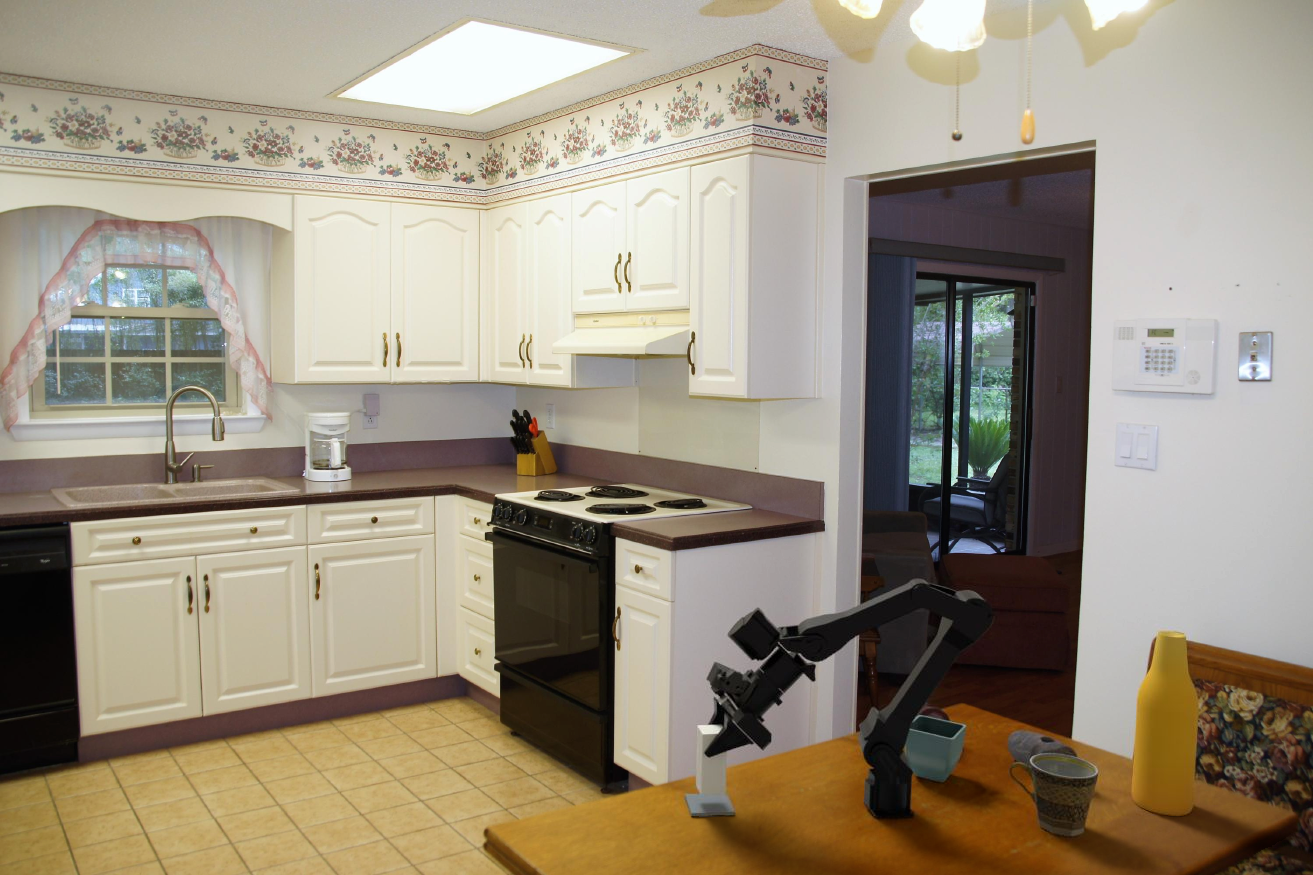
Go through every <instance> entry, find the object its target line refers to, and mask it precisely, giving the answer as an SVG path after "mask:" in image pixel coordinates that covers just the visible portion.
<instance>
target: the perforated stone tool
mask: <svg viewBox="0 0 1313 875" xmlns="http://www.w3.org/2000/svg"><path fill="white" fill-rule="evenodd" d="M1007 747H1008V748H1007V749H1008V751H1009V753H1010V755H1011V756H1012V758H1013V759H1014V760H1015V761H1016V762H1021V763H1024V764H1026V765H1027V766H1031V765H1030V758H1031V757H1033V756H1035V755H1038V754H1044V753H1055V754H1063V755H1069V756H1073V757H1077V758H1078V754H1077V752H1076V751H1075V750H1074V748H1072V747H1071V746H1069V745H1068V744H1066V743H1063V742H1062V741H1060V740H1058V739H1055V738H1054V737H1050V736H1049V735H1044V734H1042V733H1038V732H1035V731H1029V730H1016V731H1013V732H1012V733H1011V734H1010V735H1009V737H1008V739H1007Z"/></svg>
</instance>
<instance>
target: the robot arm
mask: <svg viewBox="0 0 1313 875" xmlns="http://www.w3.org/2000/svg"><path fill="white" fill-rule="evenodd" d="M919 609H924V610H927V611H929V612H932V613H934V614H936V615H939V616H941V620H940V623H939V628H938V629H937V630H938V631H937V634H936V635H935V638H934V639H933V640H932V642H931V643H930V644H929V646H928V647H927V649H926V650H925V651H924V654H923V655H922V656H921V658H920V659H919V661H918V662H917V664H916V665H915V667H914V668H913V669H912V671H911V673H910V674H909V676H907V678H906V680H905V681H904V683H903V684H902V685H901V687H900V688H899V690H898V692H897V693H896V694H895V696H894V697H893V699H892V700H891V702H890V703H889V704H888V705H887V706H886V707H884V708H883V709H881V710H878V709H877V708H876V707H875V706H872V707H871V708H870V710H869V713H867V716H866V718H865V719H864V720H863V721H862V722H860V723H859V725H858V726H859V730H860V731H859V733H858V742H859V747H860V749H861V752H862V755H863V759H864V760H865V762H866V763H867V764H868V766H869V767H871V768H868V772H867V775H868V777H866V778H865V780H864V797H863V804H865V806H866V807H867V809H868V810H869V811H870V812H871V814H872V815H873V816H874V817H875V818H876V819H890V818H893V819H894V818H896V819H897V818H914V817H915V813H914V811H913V810H912V809H911V808H912V784H913V783H912V782H913V774H914V773H913V771H912V768H911V766H910V764H909V761H908V759H907V757H906V751H905V750H904V748H905V744H906V741H907V737H908V734H909V730H910V726H911V724H912V722H913V721H914V719H915V718H916V716H917V715H918V713H919V712H920V711H921V709H922V708H923V706H924V705H925V703H926V702H927V703H928V701H929V699H930V697H931V696H932V695H933V693H934V692H935V691H936V689H937V687H938V686H939V685H940V683H941V681H942V680H943V679H944V677H945V676H946V674H947V673H948V672H949V670H950V668H951V667H952V665H953V664H954V663H955V661H956V659H957V658H958V657H959V655H960V654H961V653H962V652H963V651H964V650H967V649H968V648H969V647H971V646H972V645H974V644H975V643H977V642H978V640H980V639H981V637H983V636H984V635H985V633H987V632H988V631H989V629H991V627H992V626H993V624H994V621H995V616H994V610H993V608H992V606H991V605H990V603H988V601H986V600H985V599H984V598H983V597H982V596H981V595H980V594H979V593H977V592H975V591H973V590H970V589H964V590H958V591H957V590H954V589H951V588H949V587H946V586H942V585H938V584H935V583H932V582H931V583H930V582H928V581H926V580H925V579H922V578H914V579H913V578H912V579H910V581H908V582H907V583H906V584H904V585H901V586H898V587H896V588H894V589H891V590H890V591H888V592H886V593H883V594H880V595H878V596H876V597H874V598H872V599H869V600H866V601H865V602H863V603H860V604H858V605H856V606H854V607H851V608H849V609H847V610H845V611H844V610H843V611H841V612H836V613H827V614H822V615H818V616H813V617H810V618H806V619H804V620H803V621H801V622H800V623H799V624H794V625H785V626H778V627H777V626H776V625H775V624H774V623H773V622H772V621H771V620H770V619H769V618H768V617H767V616H766V614H765V612H764V611H763V610H762V609H761V608H760V607H756V608H755V609H754V610H753V611H750V612H749V613H747V614H745V615H744V616H742V617H740V618H739V620H737V621H736V623H734V624H733V626H732V627H731V628H730V630H729V631H728V632H727V635H726V636H727V637H728V638H729V639H730V640H731V641H732V642H733V643H734V644H735V645H736V646H737V647H738V649H740V650H741V651H742V652H743V654H745V655H746V657H747V658H748V659H750V660H751V661H754V660H755V661H757V662H759V661H763V663H762V664H761V665H760V666H759V667H758V668H757V669H756V670H755V671H754V670H753V669H752V668H751V669H748V670H747V671H746V672H744V673H742V672H740V671H737V670H736V669H735V668H731V667H728V666H726V665H724V664H722V663H720V662H717V661H713V665H712V667H711V668H710V671H709V672H708V674H707V677H706V681H708V683H709V685H710V689H711V691H712V692H713V693H714V694H715V695H716V696H718V698H716V697H715V696H713V699H712V700H713V706H714V707H713V709H714V711H713V714H712V716H711V718H710V720H709V722H708V724H707V725H722V726H723V728H722V729H721V730H720V732H719V733H718V734H717V736H716V737H715V738H714V739H713V741H712V742H711V743H710V745H709V746H708V747H707V749H706V750H705V752H704V754H705V755H706V756H707V757H708V758H710V757H713V756H715V755H718V754H721V753H724V752H726V751H727V752H728V751H731V750H735V749H737V748H741V747H745V746H748V745H751V746H753V745H754V744H756V746H758V747H759V749H760V750H761V751H764V750H766V748H767V747H768V746H769V745H770V744H771V743H772V738H773V737H772V731H770V730H769V729H768V727H767V726H766V725H765V724H764V722H765V721H766V719H765V718H764V717H763V716H764V715H765V714H766V712H768V711H769V710H770V709H771V708H772V707H773V706H774V705H775V704H776V706H778V707H780V705H782V704H783V703H784V702H783V700H782V699H781V698H782V697H783V696H784V694H786V693H787V691H788V690H790V688H791V687H792V686H794V684H796V682H798V680H799V679H800V678H801V677H802V676H803V675H804V676H805V677H806V678H807V679H808V680H810V681H811V682H812V683H815V681H816V679H817V678H816V669H817V668H816V667H817V664H815V663H820V662H823V661H825V660H827V659H828V658H830V657H832V656H834V655H835V654H836V653H837V652H839V651H840V650H841V649H842V648H844V647H845V646H846V645H847V644H848V643H849V642H850V641H851V640H853V639H855V638H856V637H857V636H861V635H863V634H864V633H867V632H869V631H871V630H874V629H876V628H878V627H881V626H883V625H885V624H887V623H890V622H892V621H895V620H896V619H899V618H901V617H903V616H906V615H908V614H910V613H912V612H915V611H917V610H919ZM776 648H777V649H776ZM774 650H775V651H774ZM764 660H765V661H764ZM806 660H808V661H809V662H807V661H806Z"/></svg>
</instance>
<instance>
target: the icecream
mask: <svg viewBox="0 0 1313 875" xmlns="http://www.w3.org/2000/svg"><path fill="white" fill-rule="evenodd" d="M919 715H923V716H928V717H932V718H937V719H941V720H946V721H950V722H951V720H950V717H949V715H948V713H947V712H945V711H944V710H942V709H941V708H940V707H935V706H934V707H933V706H931V705H930V703H928V701H927V702H926V703H925V705H924V706H923V708H922V709H921V711H920V712H919V713H918V715H917V716H919ZM917 716H916V717H917Z"/></svg>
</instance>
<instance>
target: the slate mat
mask: <svg viewBox="0 0 1313 875" xmlns="http://www.w3.org/2000/svg"><path fill="white" fill-rule="evenodd" d="M684 799H685V803H686V805H687V808H689V809H688V811H690V812H689V813H690V817H691V816H699V817H709V816H708V815H711V816H710V817H713V816H712V815H736V811H735V808H734V806H733V803H732V802H731V800H730V797H729V795H728V793H727V792H726V794H725V795H707V796H701V795H700V793H685V794H684ZM705 815H706V816H705Z"/></svg>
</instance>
